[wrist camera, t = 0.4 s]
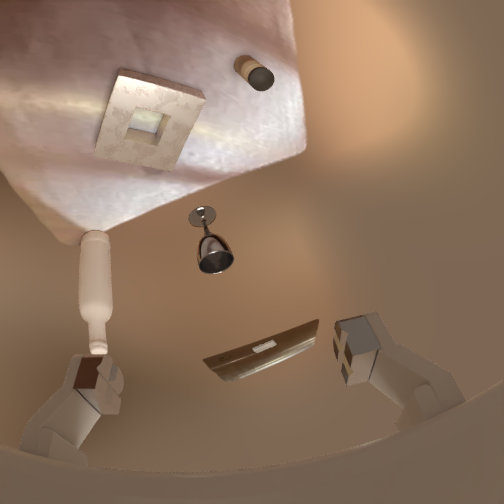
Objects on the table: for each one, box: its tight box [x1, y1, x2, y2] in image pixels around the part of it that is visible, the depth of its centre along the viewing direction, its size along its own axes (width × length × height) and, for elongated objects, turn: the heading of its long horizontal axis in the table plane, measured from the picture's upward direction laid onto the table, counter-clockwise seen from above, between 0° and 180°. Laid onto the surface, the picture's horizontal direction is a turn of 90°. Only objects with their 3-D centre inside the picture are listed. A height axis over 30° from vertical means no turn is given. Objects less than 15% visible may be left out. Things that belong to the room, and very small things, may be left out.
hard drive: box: [252, 340, 277, 353], centre depth 163 cm, size 2×8×12 cm
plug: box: [234, 55, 274, 91], centre depth 45 cm, size 4×4×10 cm
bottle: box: [79, 230, 113, 354], centre depth 60 cm, size 8×8×30 cm
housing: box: [93, 68, 206, 172], centre depth 49 cm, size 16×16×5 cm
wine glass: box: [189, 206, 234, 274], centre depth 71 cm, size 8×8×15 cm
